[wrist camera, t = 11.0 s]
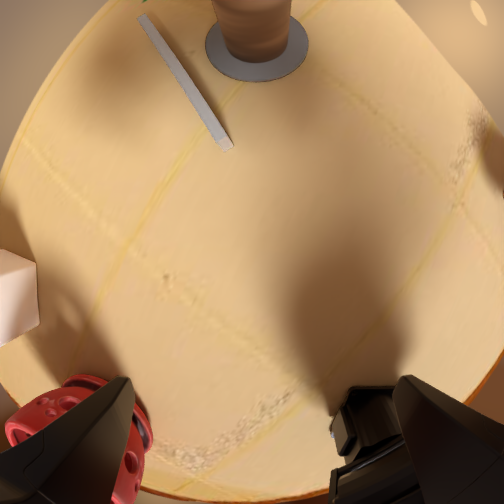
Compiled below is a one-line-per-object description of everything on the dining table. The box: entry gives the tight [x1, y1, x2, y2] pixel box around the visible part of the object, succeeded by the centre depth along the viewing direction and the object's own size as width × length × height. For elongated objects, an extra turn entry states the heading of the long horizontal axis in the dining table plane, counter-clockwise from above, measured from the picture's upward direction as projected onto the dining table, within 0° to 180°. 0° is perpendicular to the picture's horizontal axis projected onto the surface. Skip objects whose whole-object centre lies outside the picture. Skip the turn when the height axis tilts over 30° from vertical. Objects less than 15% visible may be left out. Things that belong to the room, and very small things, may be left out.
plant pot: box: [5, 374, 153, 504], centre depth 17 cm, size 13×13×12 cm
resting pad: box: [206, 16, 308, 82], centre depth 17 cm, size 8×8×1 cm
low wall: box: [137, 14, 234, 152], centre depth 16 cm, size 14×1×3 cm, turn 30°
